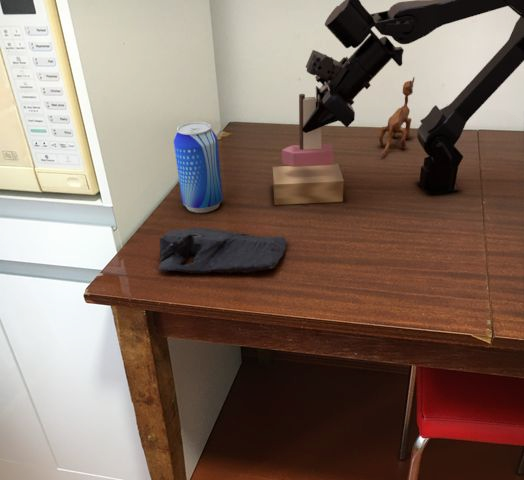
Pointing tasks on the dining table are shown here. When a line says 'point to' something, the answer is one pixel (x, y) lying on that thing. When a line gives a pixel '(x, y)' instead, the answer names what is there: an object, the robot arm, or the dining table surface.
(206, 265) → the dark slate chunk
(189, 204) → the beer can
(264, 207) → the dining table surface
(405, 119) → the brown animal figurine
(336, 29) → the robot arm
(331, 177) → the wood block
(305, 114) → the toy boat
